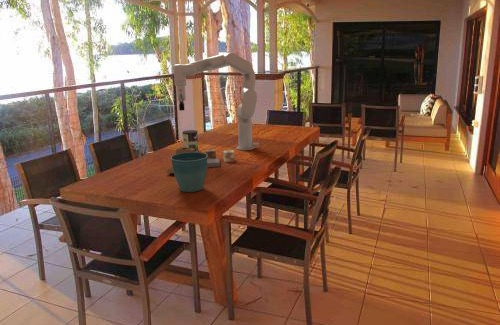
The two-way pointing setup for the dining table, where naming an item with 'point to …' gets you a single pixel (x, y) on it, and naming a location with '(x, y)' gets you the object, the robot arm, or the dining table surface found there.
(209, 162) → the slate trivet
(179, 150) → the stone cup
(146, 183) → the dining table surface
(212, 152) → the walnut cube
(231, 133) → the dining table surface
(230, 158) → the oak cube
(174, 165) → the flower pot
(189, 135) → the coffee can
